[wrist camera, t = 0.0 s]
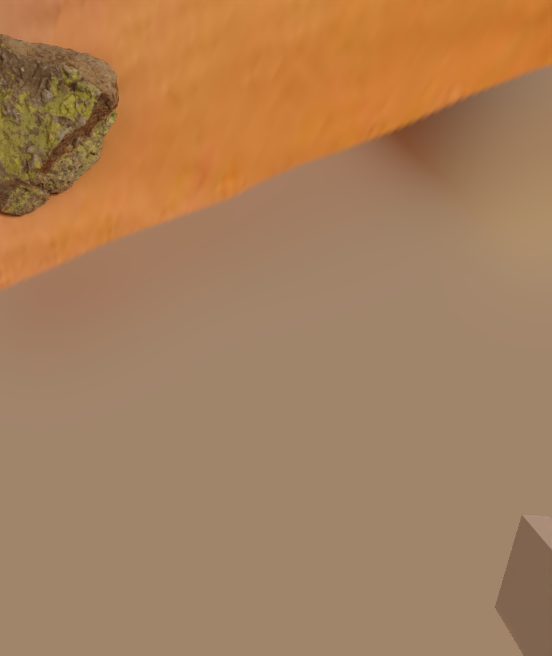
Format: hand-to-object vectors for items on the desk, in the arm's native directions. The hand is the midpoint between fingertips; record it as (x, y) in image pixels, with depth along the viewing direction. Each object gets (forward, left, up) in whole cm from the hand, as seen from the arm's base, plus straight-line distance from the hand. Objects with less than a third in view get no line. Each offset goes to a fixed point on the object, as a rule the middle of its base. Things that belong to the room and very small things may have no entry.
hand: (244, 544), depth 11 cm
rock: (-11, -16, -28) cm, 35 cm away
